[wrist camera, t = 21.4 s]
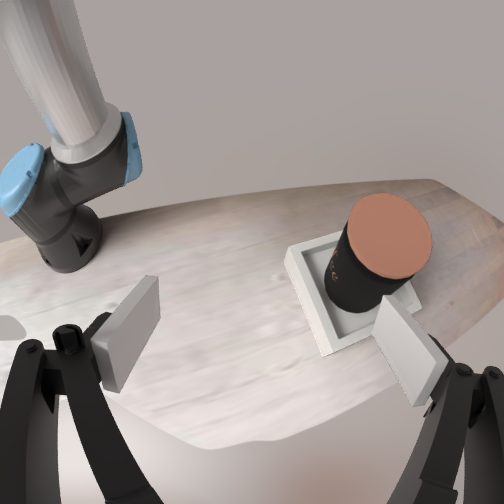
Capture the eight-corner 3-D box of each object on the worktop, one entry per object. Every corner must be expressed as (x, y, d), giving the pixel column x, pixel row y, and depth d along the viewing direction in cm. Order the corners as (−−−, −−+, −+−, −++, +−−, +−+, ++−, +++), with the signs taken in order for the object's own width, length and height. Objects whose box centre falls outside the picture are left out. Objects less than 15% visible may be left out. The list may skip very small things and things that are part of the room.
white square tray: (283, 263, 52) (288, 246, 46) (364, 237, 55) (377, 219, 49) (321, 357, 44) (333, 352, 38) (404, 318, 47) (422, 308, 42)
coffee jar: (344, 242, 49) (374, 177, 32) (393, 278, 45) (443, 226, 29) (309, 289, 46) (329, 237, 29) (361, 328, 42) (410, 296, 26)
